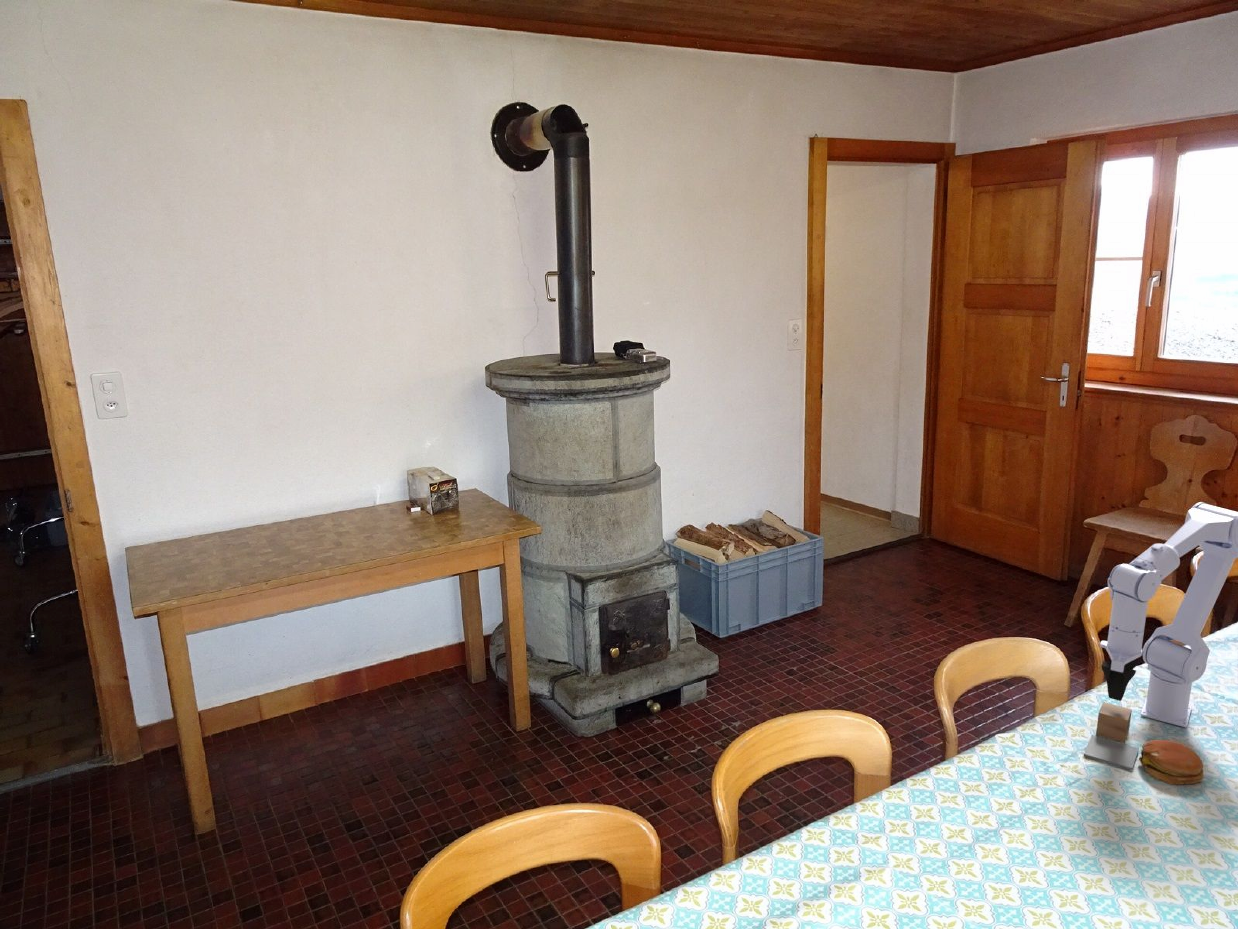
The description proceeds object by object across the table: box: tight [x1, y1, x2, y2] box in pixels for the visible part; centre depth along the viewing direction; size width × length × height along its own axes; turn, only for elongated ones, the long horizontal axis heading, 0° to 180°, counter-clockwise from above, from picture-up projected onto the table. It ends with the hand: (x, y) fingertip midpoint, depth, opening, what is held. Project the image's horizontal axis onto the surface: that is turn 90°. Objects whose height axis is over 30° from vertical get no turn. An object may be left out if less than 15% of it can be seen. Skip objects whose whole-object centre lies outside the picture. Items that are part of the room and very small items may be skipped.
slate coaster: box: [1083, 734, 1140, 772], centre depth 165 cm, size 8×8×1 cm
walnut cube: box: [1095, 701, 1133, 744], centre depth 171 cm, size 5×5×5 cm
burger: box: [1138, 739, 1204, 786], centre depth 159 cm, size 10×9×5 cm
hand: (1118, 690), depth 169 cm, fingers open, 7 cm apart
